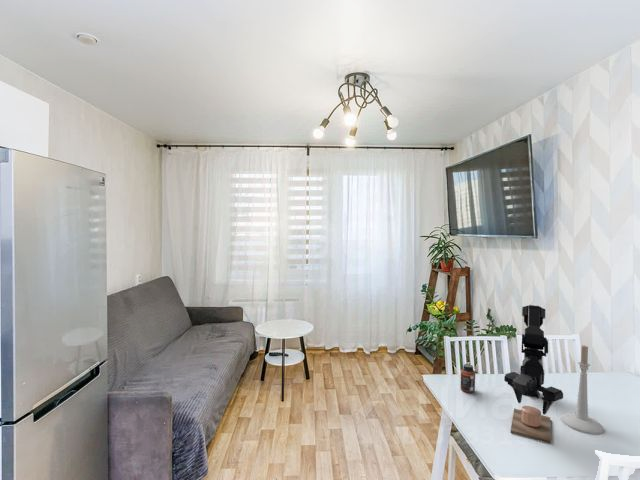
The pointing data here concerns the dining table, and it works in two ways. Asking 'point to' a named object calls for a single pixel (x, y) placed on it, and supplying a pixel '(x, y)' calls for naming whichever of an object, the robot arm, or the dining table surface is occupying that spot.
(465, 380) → the supplement bottle
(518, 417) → the post board
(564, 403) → the dining table surface
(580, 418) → the candlestick
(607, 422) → the dining table surface
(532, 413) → the cap
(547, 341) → the robot arm
